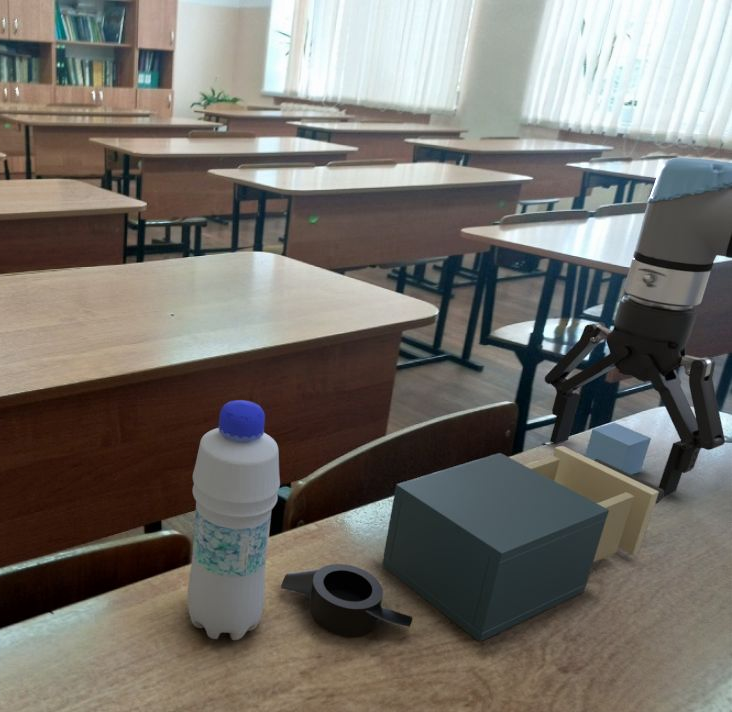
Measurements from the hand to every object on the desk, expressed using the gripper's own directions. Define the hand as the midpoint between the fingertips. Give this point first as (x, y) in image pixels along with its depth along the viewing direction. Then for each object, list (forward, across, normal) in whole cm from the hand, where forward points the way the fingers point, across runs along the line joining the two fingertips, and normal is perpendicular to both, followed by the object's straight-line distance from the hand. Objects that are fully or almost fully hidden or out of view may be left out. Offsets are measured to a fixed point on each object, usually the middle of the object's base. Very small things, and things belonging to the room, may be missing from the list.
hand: (609, 465), depth 90 cm
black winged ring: (0, +6, -48) cm, 48 cm away
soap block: (0, 0, 0) cm, 0 cm away
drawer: (-1, +8, -20) cm, 22 cm away
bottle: (0, +2, -58) cm, 58 cm away
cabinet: (0, +8, -33) cm, 34 cm away
